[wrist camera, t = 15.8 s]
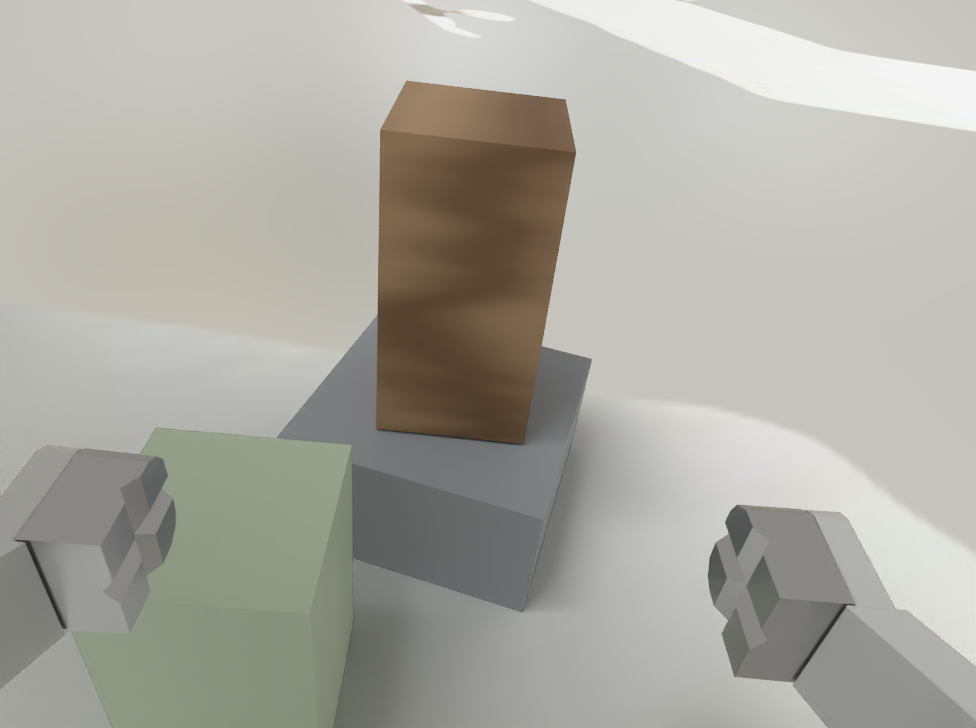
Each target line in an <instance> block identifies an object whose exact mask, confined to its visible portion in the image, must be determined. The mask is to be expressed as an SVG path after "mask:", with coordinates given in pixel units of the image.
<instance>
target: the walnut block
mask: <svg viewBox="0 0 976 728" xmlns="http://www.w3.org/2000/svg"><path fill="white" fill-rule="evenodd" d="M575 156H576V149H575V144H574V139H573V134H572V129H571V124H570V119H569V114H568V109H567V104H566V100H565V99H556V98H548V97H539V96H531V95H522V94H514V93H505V92H496V91H488V90H480V89H471V88H462V87H454V86H446V85H437V84H429V83H421V82H412V81H406V83H405V85H404V86H403V88H402V90H401V92H400V94H399V96H398V98H397V100H396V101H395V103H394V105H393V107H392V109H391V111H390V113H389V115H388V117H387V118H386V120H385V122H384V124H383V126H382V128H381V130H380V195H379V199H380V200H379V264H378V270H379V271H378V331H377V399H376V429H384V430H394V431H403V432H413V433H423V434H433V435H442V436H452V437H462V438H472V439H481V440H491V441H501V442H511V443H520V444H524V441H525V435H526V430H527V424H528V419H529V413H530V407H531V402H532V396H533V391H534V385H535V379H536V374H537V368H538V363H539V357H540V351H541V346H542V340H543V335H544V329H545V323H546V318H547V312H548V307H549V301H550V296H551V290H552V284H553V278H554V272H555V267H556V262H557V256H558V251H559V245H560V240H561V233H562V228H563V223H564V217H565V211H566V205H567V200H568V195H569V189H570V184H571V177H572V172H573V167H574V161H575Z"/></svg>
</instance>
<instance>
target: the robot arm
mask: <svg viewBox="0 0 976 728" xmlns="http://www.w3.org/2000/svg"><path fill="white" fill-rule="evenodd" d="M167 477H168V474H167V470H166V467H165V463H164V460H163V459H162V458H159V457H156V456H148V455H139V454H130V453H120V452H111V451H102V450H93V449H78V448H68V447H59V446H50V445H47V446H45V447H43V448H42V449H40V450H38V451H37V452H35V453H34V455H33V456H32V457H31V458H30V460H29V461H28V462H27V464H26V465H25V466H24V467H23V469H22V470H21V471H20V473H19V474H18V475H17V476H16V478H15V479H14V480H13V482H12V483H11V484H10V485H9V487H8V488H7V489H6V491H5V492H4V493H3V494H2V496H1V497H0V689H1V688H2V687H3V686H4V685H6V684H7V683H8V682H9V681H10V680H11V679H13V678H14V677H15V676H16V675H17V674H19V673H20V672H21V671H22V670H23V669H24V668H26V667H27V666H28V665H29V664H30V663H32V662H33V661H34V660H35V659H36V658H37V657H39V656H40V655H41V654H42V653H43V652H45V651H46V650H47V649H48V648H49V647H50V646H52V645H53V644H54V643H55V642H56V641H58V640H59V639H60V638H61V637H62V636H63V635H64V631H80V632H103V633H125V634H130V633H131V631H132V629H133V627H134V625H135V622H136V620H137V618H138V616H139V614H140V612H141V610H142V608H143V606H144V604H145V601H146V599H147V597H148V595H149V593H150V588H149V584H148V580H147V577H146V576H147V575H148V574H150V573H151V572H152V571H154V570H155V569H157V568H158V567H159V566H161V565H162V564H163V563H164V561H165V559H166V557H167V554H168V552H169V550H170V548H171V544H172V540H173V536H174V531H175V527H176V509H175V505H174V500H173V498H172V497H171V496H170V495H169V494H168V493H167V492H166V491H164V490H163V489H162V487H163V485H164V483H165V481H166V479H167ZM725 523H726V526H727V529H728V532H729V534H728V535H727V536H725V537H724V538H722V539H721V540H719V541H717V542H716V543H715V546H714V548H713V551H712V553H711V556H710V561H709V571H708V579H709V588H710V593H711V597H712V601H713V604H714V606H715V607H716V608H717V609H718V610H719V611H720V613H721V614H722V615H723V616H724V617H725V618H726V619H727V620H728V622H727V624H726V626H725V628H724V630H723V632H722V636H723V639H724V643H725V646H726V650H727V653H728V656H729V660H730V663H731V667H732V670H733V674H734V677H743V678H753V679H763V680H774V681H784V682H794V684H793V686H794V688H795V689H796V690H797V691H798V692H799V694H800V695H801V696H802V697H803V698H804V700H805V701H806V702H807V703H808V704H809V706H810V707H811V708H812V709H813V710H814V712H815V713H816V714H817V715H818V716H819V718H820V719H821V720H822V721H823V722H824V724H825V725H826V726H827V727H828V728H976V666H974V665H973V664H972V663H971V662H969V661H968V660H967V659H966V658H965V657H963V656H962V655H961V654H960V653H958V652H957V651H956V650H955V649H953V648H952V647H951V646H950V645H949V644H947V643H946V642H945V641H944V640H942V639H941V638H940V637H939V636H937V635H936V634H935V633H934V632H933V631H931V630H930V629H929V628H928V627H926V626H925V625H924V624H923V623H921V622H920V621H919V620H918V619H917V618H915V617H914V616H913V615H912V614H910V613H909V612H908V611H907V610H899V609H896V608H895V607H894V605H893V603H892V601H891V599H890V597H889V595H888V593H887V592H886V590H885V588H884V586H883V584H882V582H881V580H880V578H879V577H878V575H877V573H876V571H875V569H874V567H873V565H872V563H871V561H870V560H869V558H868V556H867V554H866V552H865V550H864V548H863V546H862V545H861V543H860V541H859V539H858V537H857V535H856V533H855V531H854V530H853V528H852V526H851V524H850V522H849V520H848V519H847V518H846V517H845V516H844V515H843V514H841V513H840V512H827V511H814V510H801V509H789V508H775V507H761V506H748V505H737V506H735V507H734V508H733V509H732V510H731V511H730V513H729V515H728V517H727V519H726V522H725Z"/></svg>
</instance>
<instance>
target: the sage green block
mask: <svg viewBox="0 0 976 728" xmlns="http://www.w3.org/2000/svg"><path fill="white" fill-rule="evenodd" d="M140 455H148V456H156V457H159V458H162V459H163V460H164V463H165V467H166V470H167V474H168V477H167V479H166V481H165V483H164V485H163V487H162V489H163V490H164V491H166V492H167V493H168V494H169V495H170V496H171V497H172V498H173V500H174V505H175V509H176V527H175V531H174V536H173V540H172V544H171V548H170V550H169V552H168V554H167V557H166V559H165V561H164V563H163V564H162V565H161V566H159V567H158V568H157V569H155V570H154V571H152V572H151V573H150V574H148V575H147V576H146V577H147V580H148V584H149V588H150V593H149V595H148V597H147V599H146V601H145V604H144V606H143V608H142V610H141V612H140V614H139V616H138V618H137V620H136V622H135V625H134V627H133V629H132V631H131V633H130V634H125V633H103V632H80V631H72V633H73V635H74V638H75V640H76V643H77V645H78V647H79V650H80V652H81V654H82V657H83V659H84V662H85V664H86V666H87V669H88V671H89V674H90V676H91V678H92V681H93V683H94V685H95V688H96V690H97V693H98V695H99V697H100V700H101V702H102V704H103V707H104V709H105V712H106V714H107V716H108V719H109V721H110V724H111V726H112V728H334V723H335V717H336V712H337V707H338V701H339V696H340V691H341V686H342V680H343V675H344V670H345V664H346V659H347V654H348V648H349V643H350V638H351V632H352V627H353V550H352V445H345V444H333V443H322V442H311V441H299V440H288V439H277V438H265V437H254V436H243V435H231V434H220V433H209V432H198V431H186V430H175V429H164V428H155V430H154V432H153V433H152V435H151V437H150V438H149V440H148V442H147V443H146V445H145V447H144V448H143V450H142V452H141V454H140Z"/></svg>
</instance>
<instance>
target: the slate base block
mask: <svg viewBox="0 0 976 728" xmlns="http://www.w3.org/2000/svg"><path fill="white" fill-rule="evenodd" d="M377 331H378V315H377V317H376V318H375V319H374V320H373V321H372V323H371V324H370V325H369V326H368V328H367V329H366V330H365V331H364V332H363V334H362V335H361V336H360V337H359V338H358V340H357V341H356V342H355V343H354V344H353V346H352V347H351V348H350V349H349V351H348V352H347V353H346V354H345V355H344V357H343V358H342V359H341V360H340V362H339V363H338V364H337V365H336V366H335V368H334V369H333V370H332V371H331V372H330V374H329V375H328V376H327V377H326V379H325V380H324V381H323V382H322V383H321V385H320V386H319V387H318V388H317V390H316V391H315V392H314V393H313V394H312V396H311V397H310V398H309V399H308V400H307V402H306V403H305V404H304V405H303V407H302V408H301V409H300V410H299V411H298V413H297V414H296V415H295V416H294V417H293V419H292V420H291V421H290V422H289V424H288V425H287V426H286V427H285V428H284V430H283V431H282V432H281V433H280V435H279V436H278V437H277V439H288V440H299V441H311V442H322V443H333V444H345V445H352V550H353V558H355V559H358V560H361V561H364V562H367V563H370V564H374V565H377V566H380V567H383V568H386V569H389V570H392V571H395V572H398V573H402V574H405V575H408V576H411V577H414V578H417V579H420V580H423V581H427V582H430V583H433V584H436V585H439V586H442V587H445V588H448V589H451V590H455V591H458V592H461V593H464V594H467V595H470V596H473V597H476V598H480V599H483V600H486V601H489V602H492V603H495V604H498V605H501V606H504V607H508V608H511V609H514V610H517V611H520V612H523V608H524V605H525V601H526V598H527V595H528V591H529V588H530V584H531V581H532V577H533V574H534V571H535V567H536V564H537V560H538V557H539V553H540V550H541V546H542V543H543V540H544V536H545V533H546V529H547V526H548V522H549V519H550V516H551V512H552V509H553V505H554V502H555V498H556V495H557V492H558V488H559V485H560V481H561V478H562V474H563V471H564V468H565V464H566V461H567V457H568V454H569V450H570V447H571V443H572V439H573V435H574V431H575V427H576V423H577V419H578V414H579V410H580V406H581V402H582V398H583V394H584V390H585V386H586V381H587V377H588V373H589V369H590V365H591V361H592V360H591V359H589V358H585V357H581V356H577V355H573V354H569V353H565V352H562V351H558V350H554V349H550V348H546V347H542V346H541V351H540V357H539V363H538V368H537V374H536V379H535V385H534V391H533V396H532V402H531V407H530V413H529V419H528V424H527V430H526V435H525V441H524V444H520V443H511V442H501V441H491V440H481V439H472V438H462V437H452V436H442V435H433V434H423V433H413V432H403V431H394V430H384V429H376V399H377Z"/></svg>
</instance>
